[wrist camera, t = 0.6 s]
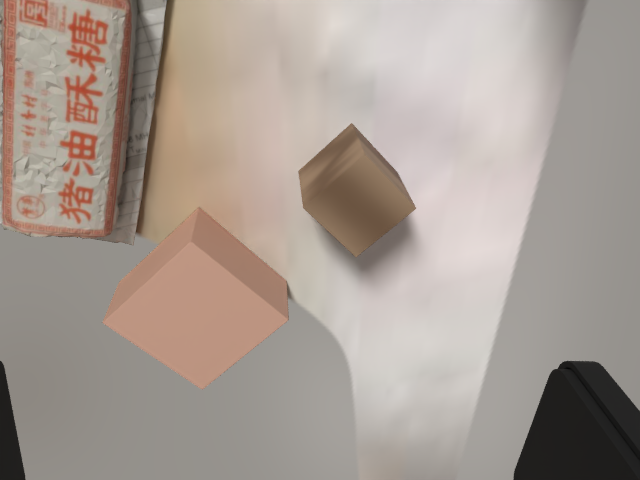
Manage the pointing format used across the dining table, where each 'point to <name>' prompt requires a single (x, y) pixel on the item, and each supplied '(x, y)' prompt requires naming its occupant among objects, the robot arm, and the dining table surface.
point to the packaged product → (76, 114)
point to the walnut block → (354, 191)
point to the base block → (199, 301)
